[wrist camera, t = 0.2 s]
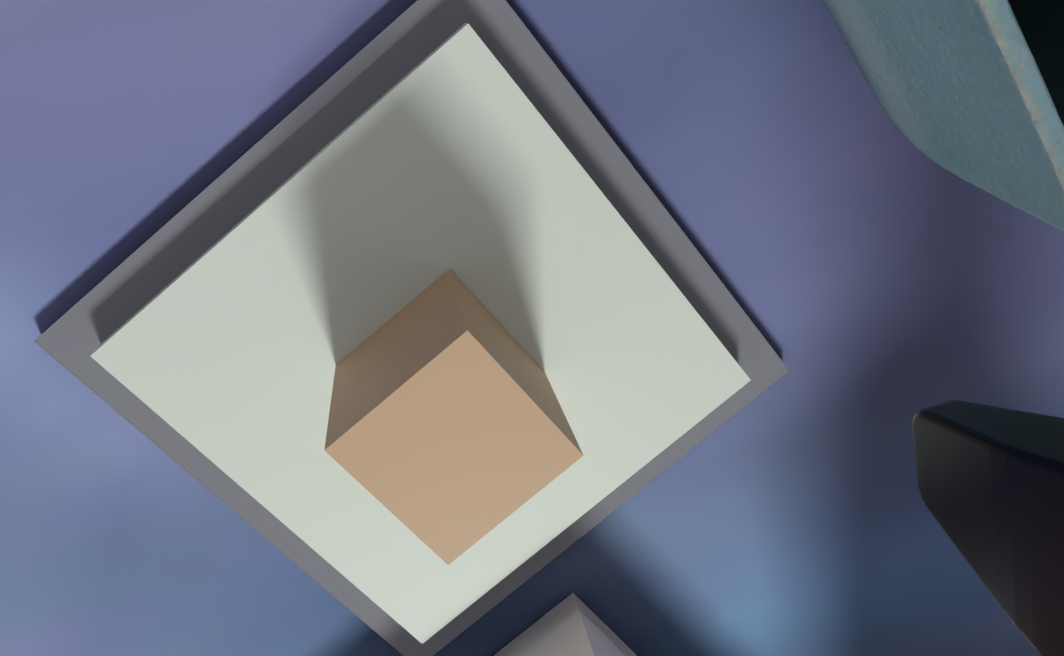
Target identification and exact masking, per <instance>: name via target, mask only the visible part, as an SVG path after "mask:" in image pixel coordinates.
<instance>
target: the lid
mask: <svg viewBox="0 0 1064 656" xmlns="http://www.w3.org/2000/svg"><path fill="white" fill-rule="evenodd" d="M91 357H92V358H93V359H94V360H95V361H96V362H98V363H99V364H100V365H101V366H102V367H103V368H104V369H106V370H107V371H108V372H109V373H110V374H111V375H112V376H114V377H115V378H116V379H117V380H118V381H119V382H121V383H122V384H123V385H124V386H125V387H126V388H127V389H129V390H130V391H131V392H132V393H133V394H134V395H136V396H137V397H138V398H139V399H140V400H141V401H142V402H144V403H145V404H146V405H147V406H148V407H149V408H151V409H152V410H153V411H154V412H155V413H156V414H157V415H159V416H160V417H161V418H162V419H163V420H164V421H166V422H167V423H168V424H169V425H170V426H171V427H172V428H174V429H175V430H176V431H177V432H178V433H179V434H181V435H182V436H183V437H184V438H185V439H186V440H187V441H189V442H190V443H191V444H192V445H193V446H194V447H196V448H197V449H198V450H199V451H200V452H201V453H202V454H204V455H205V456H206V457H207V458H208V459H209V460H211V461H212V462H213V463H214V464H215V465H216V466H217V467H219V468H220V469H221V470H222V471H223V472H224V473H226V474H227V475H228V476H229V477H230V478H231V479H232V480H234V481H235V482H236V483H237V484H238V485H239V486H240V487H242V488H243V489H244V490H245V491H246V492H247V493H249V494H250V495H251V496H252V497H253V498H254V499H255V500H257V501H258V502H259V503H260V504H261V505H262V506H264V507H265V508H266V509H267V510H268V511H269V512H270V513H272V514H273V515H274V516H275V517H276V518H277V519H279V520H280V521H281V522H282V523H283V524H284V525H285V526H287V527H288V528H289V529H290V530H291V531H292V532H294V533H295V534H296V535H297V536H298V537H299V538H300V539H302V540H303V541H304V542H305V543H306V544H307V545H309V546H310V547H311V548H312V549H313V550H314V551H315V552H317V553H318V554H319V555H320V556H321V557H322V558H324V559H325V560H326V561H327V562H328V563H329V564H330V565H332V566H333V567H334V568H335V569H336V570H337V571H339V572H340V573H341V574H342V575H343V576H344V577H345V578H347V579H348V580H349V581H350V582H351V583H352V584H354V585H355V586H356V587H357V588H358V589H359V590H360V591H362V592H363V593H364V594H365V595H366V596H367V597H369V598H370V599H371V600H372V601H373V602H374V603H375V604H377V605H378V606H379V607H380V608H381V609H382V610H383V611H385V612H386V613H387V614H388V615H389V616H390V617H392V618H393V619H394V620H395V621H396V622H397V623H398V624H400V625H401V626H402V627H403V628H404V629H405V630H407V631H408V632H409V633H410V634H411V635H412V636H413V637H415V638H416V639H417V640H418V641H419V642H420V643H422V644H423V643H424V642H425V641H427V640H428V639H429V638H430V637H432V636H433V635H434V634H435V633H437V632H438V631H439V630H440V629H442V628H443V627H444V626H445V625H447V624H448V623H449V622H450V621H452V620H453V619H454V618H455V617H457V616H458V615H459V614H460V613H461V612H463V611H464V610H465V609H466V608H468V607H469V606H470V605H471V604H473V603H474V602H475V601H476V600H478V599H479V598H480V597H481V596H483V595H484V594H485V593H486V592H488V591H489V590H490V589H491V588H493V587H494V586H495V585H496V584H498V583H499V582H500V581H501V580H503V579H504V578H505V577H506V576H508V575H509V574H510V573H511V572H513V571H514V570H515V569H516V568H518V567H519V566H520V565H521V564H523V563H524V562H525V561H526V560H528V559H529V558H530V557H531V556H533V555H534V554H535V553H536V552H538V551H539V550H540V549H541V548H542V547H544V546H545V545H546V544H547V543H549V542H550V541H551V540H552V539H554V538H555V537H556V536H557V535H559V534H560V533H561V532H562V531H564V530H565V529H566V528H567V527H569V526H570V525H571V524H572V523H574V522H575V521H576V520H577V519H579V518H580V517H581V516H582V515H584V514H585V513H586V512H587V511H589V510H590V509H591V508H592V507H594V506H595V505H596V504H597V503H599V502H600V501H601V500H602V499H604V498H605V497H606V496H607V495H609V494H610V493H611V492H612V491H614V490H615V489H616V488H617V487H619V486H620V485H621V484H622V483H623V482H625V481H626V480H627V479H628V478H630V477H631V476H632V475H633V474H635V473H636V472H637V471H638V470H640V469H641V468H642V467H643V466H645V465H646V464H647V463H648V462H650V461H651V460H652V459H653V458H655V457H656V456H657V455H658V454H660V453H661V452H662V451H663V450H665V449H666V448H667V447H668V446H670V445H671V444H672V443H673V442H675V441H676V440H677V439H678V438H680V437H681V436H682V435H683V434H685V433H686V432H687V431H688V430H690V429H691V428H692V427H693V426H695V425H696V424H697V423H698V422H700V421H701V420H702V419H703V418H704V417H706V416H707V415H708V414H709V413H711V412H712V411H713V410H714V409H716V408H717V407H718V406H719V405H721V404H722V403H723V402H724V401H726V400H727V399H728V398H729V397H731V396H732V395H733V394H734V393H736V392H737V391H738V390H739V389H741V388H742V387H743V386H744V385H746V384H747V383H748V382H749V381H751V380H750V378H749V377H748V376H747V375H746V373H745V372H744V371H743V369H742V368H741V367H740V366H739V364H738V363H737V362H736V361H735V359H734V358H733V357H732V356H731V354H730V353H729V352H728V351H727V349H726V348H725V347H724V346H723V344H722V343H721V342H720V340H719V339H718V338H717V337H716V335H715V334H714V333H713V332H712V330H711V329H710V328H709V327H708V325H707V324H706V323H705V322H704V320H703V319H702V318H701V316H700V315H699V314H698V313H697V311H696V310H695V309H694V308H693V306H692V305H691V304H690V303H689V301H688V300H687V299H686V298H685V296H684V295H683V294H682V293H681V291H680V290H679V289H678V287H677V286H676V285H675V284H674V282H673V281H672V280H671V279H670V277H669V276H668V275H667V274H666V272H665V271H664V270H663V269H662V267H661V266H660V265H659V263H658V262H657V261H656V260H655V258H654V257H653V256H652V255H651V253H650V252H649V251H648V250H647V248H646V247H645V246H644V245H643V243H642V242H641V241H640V239H639V238H638V237H637V236H636V234H635V233H634V232H633V231H632V229H631V228H630V227H629V226H628V224H627V223H626V222H625V221H624V219H623V218H622V217H621V216H620V214H619V213H618V212H617V210H616V209H615V208H614V207H613V205H612V204H611V203H610V202H609V200H608V199H607V198H606V197H605V195H604V194H603V193H602V192H601V190H600V189H599V188H598V186H597V185H596V184H595V183H594V181H593V180H592V179H591V178H590V176H589V175H588V174H587V173H586V171H585V170H584V169H583V168H582V166H581V165H580V164H579V162H578V161H577V160H576V159H575V157H574V156H573V155H572V154H571V152H570V151H569V150H568V149H567V147H566V146H565V145H564V144H563V142H562V141H561V140H560V139H559V137H558V136H557V135H556V133H555V132H554V131H553V130H552V128H551V127H550V126H549V125H548V123H547V122H546V121H545V120H544V118H543V117H542V116H541V115H540V113H539V112H538V111H537V109H536V108H535V107H534V106H533V104H532V103H531V102H530V101H529V99H528V98H527V97H526V96H525V94H524V93H523V92H522V91H521V89H520V88H519V87H518V86H517V84H516V83H515V82H514V80H513V79H512V78H511V77H510V75H509V74H508V73H507V72H506V70H505V69H504V68H503V67H502V65H501V64H500V63H499V62H498V60H497V59H496V58H495V56H494V55H493V54H492V53H491V51H490V50H489V49H488V48H487V46H486V45H485V44H484V43H483V41H482V40H481V39H480V38H479V36H478V35H477V34H476V32H475V31H474V30H473V29H472V27H471V26H470V25H469V24H468V23H465V24H463V25H462V26H461V27H460V28H459V29H458V30H457V31H456V32H454V33H453V34H452V35H451V36H450V37H449V38H448V39H446V40H445V41H444V42H443V43H442V44H441V45H440V46H438V47H437V48H436V49H435V50H434V51H433V52H432V53H431V54H429V55H428V56H427V57H426V58H425V59H424V60H423V61H421V62H420V63H419V64H418V65H417V66H416V67H415V68H413V69H412V70H411V71H410V72H409V73H408V74H407V75H406V76H404V77H403V78H402V79H401V80H400V81H399V82H398V83H396V84H395V85H394V86H393V87H392V88H391V89H390V90H388V91H387V92H386V93H385V94H384V95H383V96H382V97H381V98H379V99H378V100H377V101H376V102H375V103H374V104H373V105H371V106H370V107H369V108H368V109H367V110H366V111H365V112H364V113H362V114H361V115H360V116H359V117H358V118H357V119H356V120H354V121H353V122H352V123H351V124H350V125H349V126H348V127H346V128H345V129H344V130H343V131H342V132H341V133H340V134H339V135H337V136H336V137H335V138H334V139H333V140H332V141H331V142H329V143H328V144H327V145H326V146H325V147H324V148H323V149H321V150H320V151H319V152H318V153H317V154H316V155H315V156H314V157H312V158H311V159H310V160H309V161H308V162H307V163H306V164H304V165H303V166H302V167H301V168H300V169H299V170H298V171H297V172H295V173H294V174H293V175H292V176H291V177H290V178H289V179H287V180H286V181H285V182H284V183H283V184H282V185H281V186H279V187H278V188H277V189H276V190H275V191H274V192H273V193H272V194H270V195H269V196H268V197H267V198H266V199H265V200H264V201H262V202H261V203H260V204H259V205H258V206H257V207H256V208H254V209H253V210H252V211H251V212H250V213H249V214H248V215H247V216H245V217H244V218H243V219H242V220H241V221H240V222H239V223H237V224H236V225H235V226H234V227H233V228H232V229H231V230H229V231H228V232H227V233H226V234H225V235H224V236H223V237H222V238H220V239H219V240H218V241H217V242H216V243H215V244H214V245H212V246H211V247H210V248H209V249H208V250H207V251H206V252H205V253H203V254H202V255H201V256H200V257H199V258H198V259H197V260H195V261H194V262H193V263H192V264H191V265H190V266H189V267H187V268H186V269H185V270H184V271H183V272H182V273H181V274H180V275H178V276H177V277H176V278H175V279H174V280H173V281H172V282H170V283H169V284H168V285H167V286H166V287H165V288H164V289H162V290H161V291H160V292H159V293H158V294H157V295H156V296H155V297H153V298H152V299H151V300H150V301H149V302H148V303H147V304H145V305H144V306H143V307H142V308H141V309H140V310H139V311H137V312H136V313H135V314H134V315H133V316H132V317H131V318H130V319H128V320H127V321H126V322H125V323H124V324H123V325H122V326H120V327H119V328H118V329H117V330H116V331H115V332H114V333H113V334H111V335H110V336H109V337H108V338H107V339H106V340H105V341H103V342H102V343H101V344H100V345H99V346H98V348H97V349H96V350H95V351H94V352H93V353H92V354H91Z"/></svg>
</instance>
